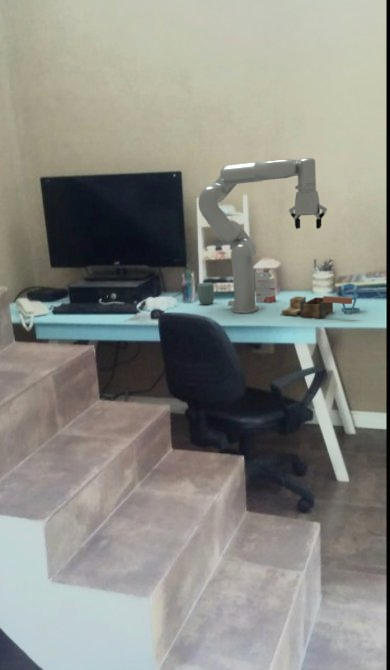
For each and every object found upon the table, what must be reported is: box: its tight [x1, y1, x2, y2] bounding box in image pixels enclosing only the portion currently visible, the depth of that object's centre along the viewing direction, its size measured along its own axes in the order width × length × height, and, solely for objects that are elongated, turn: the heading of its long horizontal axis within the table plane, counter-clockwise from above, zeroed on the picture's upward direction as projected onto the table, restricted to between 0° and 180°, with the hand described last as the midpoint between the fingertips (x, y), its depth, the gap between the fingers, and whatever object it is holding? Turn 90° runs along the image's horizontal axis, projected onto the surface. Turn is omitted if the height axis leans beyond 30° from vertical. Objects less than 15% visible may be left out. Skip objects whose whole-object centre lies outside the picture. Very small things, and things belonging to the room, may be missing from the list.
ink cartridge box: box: [254, 271, 277, 304], centre depth 310 cm, size 9×5×15 cm, turn 55°
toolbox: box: [299, 297, 334, 320], centre depth 277 cm, size 10×14×7 cm
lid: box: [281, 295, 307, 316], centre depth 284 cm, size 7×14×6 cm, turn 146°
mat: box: [280, 312, 300, 317], centre depth 285 cm, size 10×12×1 cm
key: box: [322, 295, 353, 305], centre depth 266 cm, size 12×2×2 cm, turn 56°
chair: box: [340, 283, 361, 315], centre depth 278 cm, size 8×8×12 cm
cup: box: [196, 282, 215, 306], centre depth 315 cm, size 8×8×10 cm
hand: (308, 228), depth 279 cm, fingers open, 9 cm apart
